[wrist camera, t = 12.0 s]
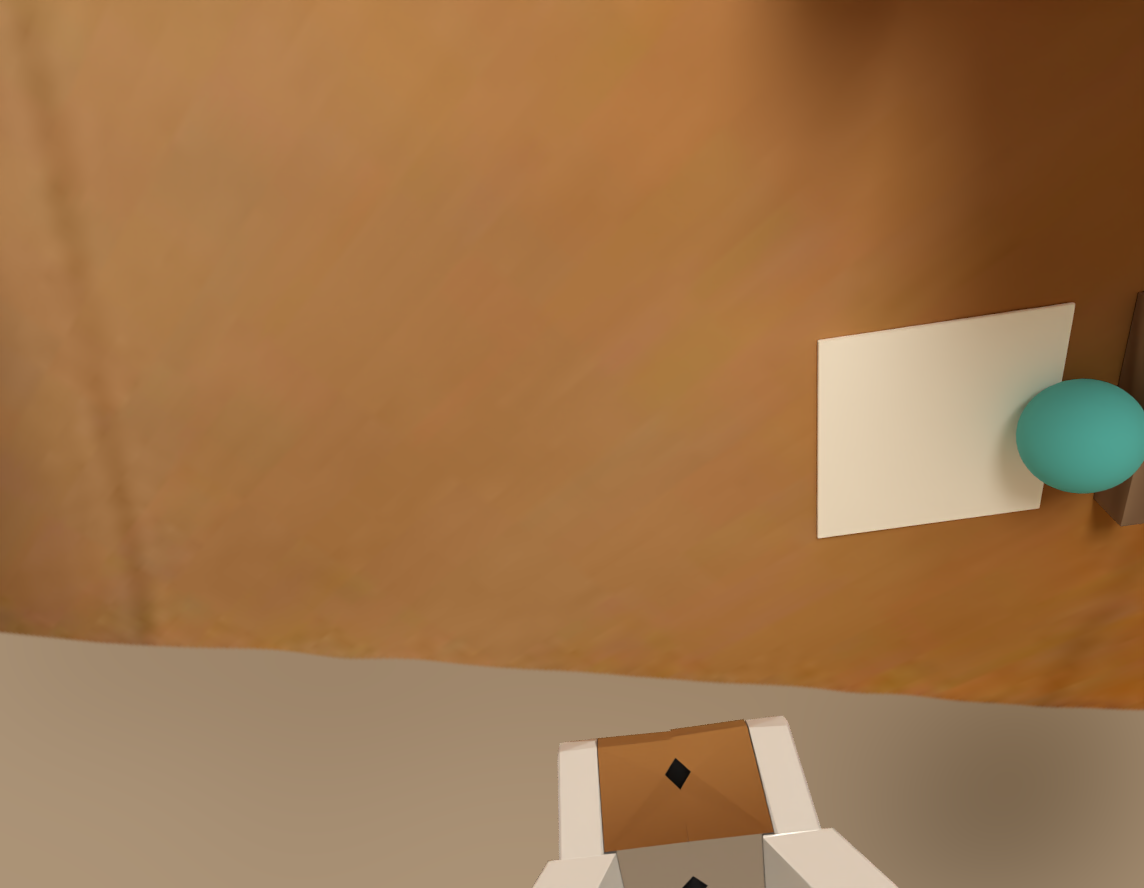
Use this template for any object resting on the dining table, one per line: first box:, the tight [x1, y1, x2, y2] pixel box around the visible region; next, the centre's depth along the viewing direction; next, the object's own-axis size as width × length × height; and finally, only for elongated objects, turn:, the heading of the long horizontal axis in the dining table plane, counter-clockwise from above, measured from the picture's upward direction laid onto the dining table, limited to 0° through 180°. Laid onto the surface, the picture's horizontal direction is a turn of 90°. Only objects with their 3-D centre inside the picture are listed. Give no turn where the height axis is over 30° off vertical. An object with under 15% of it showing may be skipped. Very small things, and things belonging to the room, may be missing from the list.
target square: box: [817, 302, 1075, 538], centre depth 43 cm, size 12×12×1 cm
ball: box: [1016, 379, 1144, 493], centre depth 40 cm, size 6×6×6 cm
